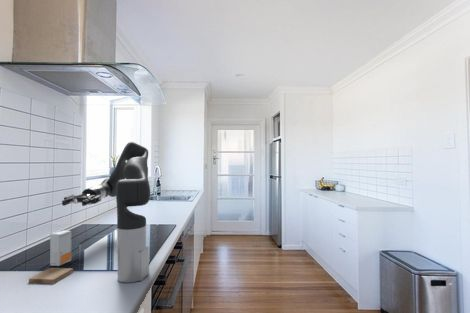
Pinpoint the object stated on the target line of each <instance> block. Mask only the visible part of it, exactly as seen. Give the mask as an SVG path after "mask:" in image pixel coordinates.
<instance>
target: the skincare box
mask: <svg viewBox="0 0 470 313" xmlns="http://www.w3.org/2000/svg"><path fill="white" fill-rule="evenodd" d="M49 237H50V242H49V248H50V249H49V250H50V251H49V252H50V253H49V254H50V255H49V257H50V258H49V266H51V267H52V266H53V267H54V266H56V267H60V266H63V265H64V264H67V263H69V262H71V261H72V230H64V229H62V230H59V231H56V232H54V233H51V234H50V236H49Z"/></svg>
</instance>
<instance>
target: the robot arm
mask: <svg viewBox="0 0 470 313" xmlns="http://www.w3.org/2000/svg"><path fill="white" fill-rule="evenodd" d="M148 159H149V150H148V148H147V147H145V146H143V145H141V144H138V143H137V142H134V141H128V142H127V143H126V145H125V146H124V148H123V150H122V152H121V154H120V156H119V158H118V160H117V163H116V166H115V167H114V170H112V173H111V174H110V176H109V177H106V178H105V179H104V180H102V182H100V184H98V185H95V186H91V187H88V188H85V189H84V190H82V192H81V193H80V194H76V195H75V194H71V195H68V196H64V197H63V200H62V201H61V205H62V206H67V205H70V204H75V205H76V204H81V206H82V207H85V206H87V205H93V204H94V205H95V204H97V203H99V202H101V201H102V200H103V199H105V198H106V197H108V196H109V197H110V198H111V197H112V198H115V199H116V219H117V224H116V226H117V227H116V228H117V229H116V231H117V232H116V239H117V240H116V242H117V244H116V246H117V247H116V248H117V250H116V251H117V280H118V282H120V283H135V282H142V281H143V280H145V278H147V276H148V275H149V274H150V247H149V246H147V218H146V217H145V216H144V215H142V214H138V213H134V212H133V211H130V210H129V207H130V208H131V207H141V206H142V207H143V206H145V205H147V204H148V203H149V202H150V199H151V188H150V186H151V185H150V182H149V168H148Z"/></svg>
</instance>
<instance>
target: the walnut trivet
mask: <svg viewBox="0 0 470 313" xmlns="http://www.w3.org/2000/svg"><path fill="white" fill-rule="evenodd" d="M73 272H74V268H70V267H68V268H67V267H66V268H65V267H49V268H47V269H45V270H43V271H41V272H39V273H37V274H35V275H33V276H31V277H29V278H28V283H35V284H37V283H39V284H40V283H41V284H46V283H47V284H55V283H57V282H59V281H60V280H62V279H63V278H66V277H67V276H69V275H70V274H72V273H73Z"/></svg>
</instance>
